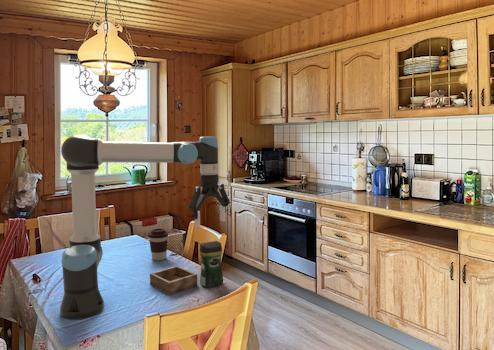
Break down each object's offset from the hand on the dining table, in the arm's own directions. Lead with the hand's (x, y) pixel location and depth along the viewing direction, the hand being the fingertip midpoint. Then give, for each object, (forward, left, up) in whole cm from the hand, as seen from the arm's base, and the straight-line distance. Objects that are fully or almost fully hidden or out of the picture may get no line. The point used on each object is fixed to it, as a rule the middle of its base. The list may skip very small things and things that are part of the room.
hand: (210, 223), depth 174 cm
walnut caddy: (-12, +11, -27) cm, 31 cm away
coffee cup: (+3, +47, -27) cm, 54 cm away
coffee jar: (0, +1, -27) cm, 27 cm away
